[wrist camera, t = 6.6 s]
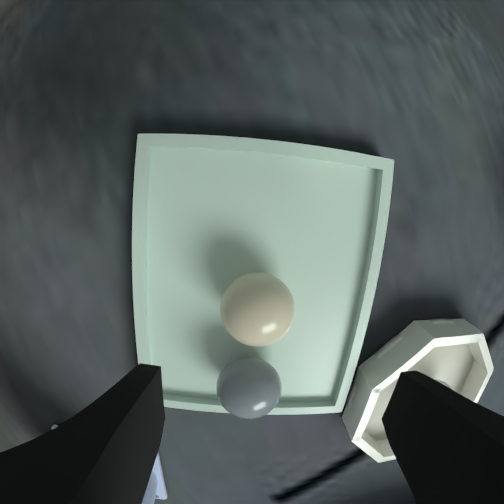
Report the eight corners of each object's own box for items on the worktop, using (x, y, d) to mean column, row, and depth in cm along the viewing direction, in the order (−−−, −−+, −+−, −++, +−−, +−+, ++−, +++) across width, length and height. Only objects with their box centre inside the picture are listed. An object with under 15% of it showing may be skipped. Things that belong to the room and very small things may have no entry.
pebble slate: (216, 390, 17) (213, 430, 14) (219, 342, 16) (215, 380, 13) (274, 393, 17) (280, 432, 14) (281, 346, 16) (290, 383, 13)
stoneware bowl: (329, 446, 19) (337, 469, 17) (369, 319, 17) (386, 339, 14) (442, 426, 20) (454, 443, 18) (490, 315, 18) (510, 328, 15)
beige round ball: (220, 323, 16) (216, 358, 13) (223, 260, 15) (219, 283, 12) (284, 327, 16) (295, 361, 13) (292, 265, 15) (307, 289, 12)
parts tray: (147, 391, 18) (143, 403, 16) (145, 136, 14) (137, 133, 13) (337, 400, 18) (341, 412, 17) (383, 160, 15) (394, 160, 14)
